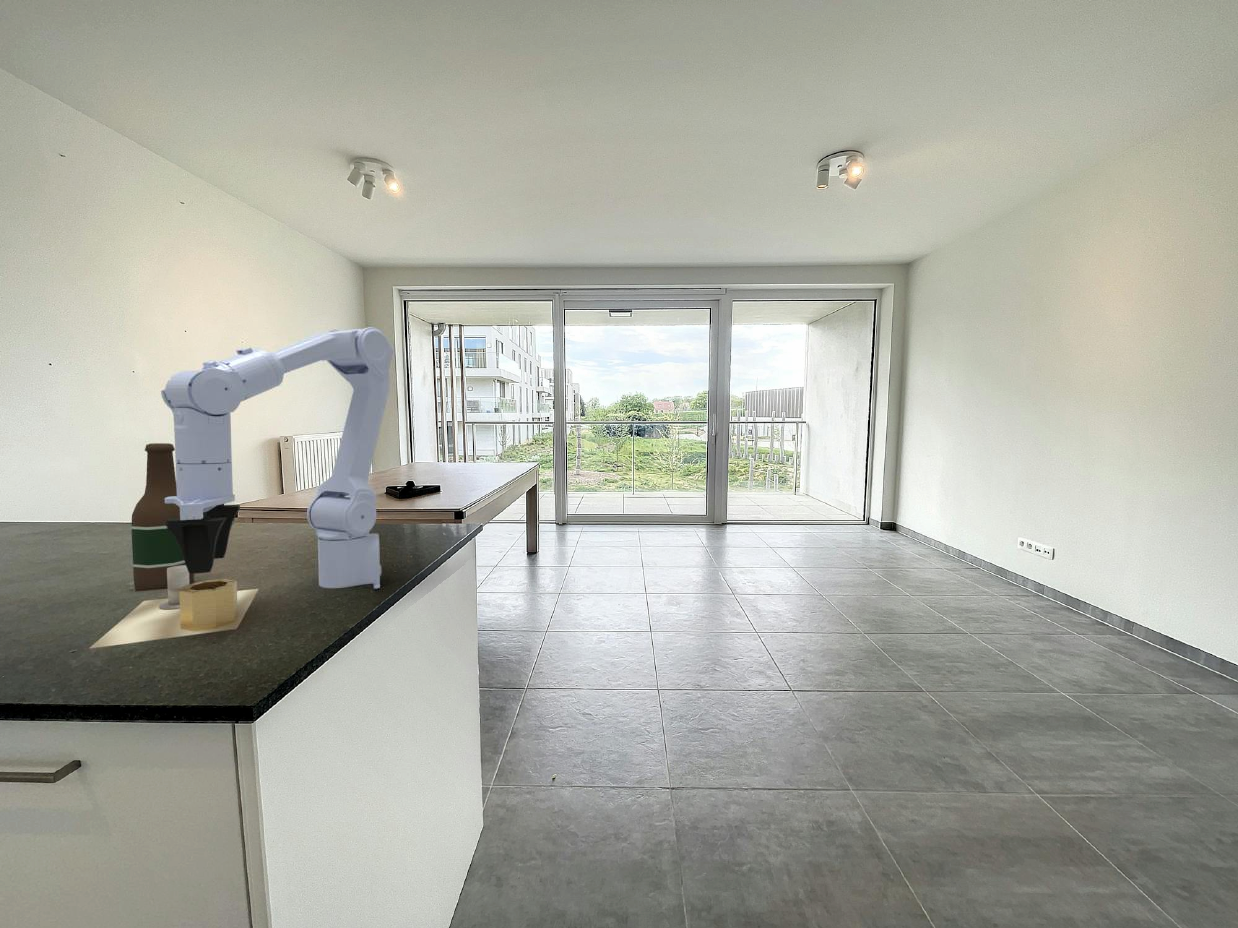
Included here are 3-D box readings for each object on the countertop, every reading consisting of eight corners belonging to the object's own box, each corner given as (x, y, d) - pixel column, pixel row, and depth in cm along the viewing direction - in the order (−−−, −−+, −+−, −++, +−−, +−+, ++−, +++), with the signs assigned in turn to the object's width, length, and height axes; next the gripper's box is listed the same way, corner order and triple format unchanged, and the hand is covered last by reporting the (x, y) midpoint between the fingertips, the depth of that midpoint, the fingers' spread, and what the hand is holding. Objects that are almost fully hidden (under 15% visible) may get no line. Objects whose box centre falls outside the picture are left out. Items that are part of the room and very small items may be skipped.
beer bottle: (143, 599, 79) (136, 444, 77) (126, 589, 83) (119, 443, 81) (204, 586, 85) (199, 444, 84) (185, 578, 89) (180, 442, 88)
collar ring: (240, 612, 72) (239, 577, 71) (231, 626, 67) (230, 588, 66) (189, 618, 69) (187, 582, 69) (176, 633, 64) (175, 594, 64)
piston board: (258, 594, 82) (257, 555, 81) (237, 635, 66) (235, 587, 65) (144, 607, 75) (142, 564, 75) (89, 656, 59) (86, 602, 59)
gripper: (181, 459, 71) (184, 555, 72) (144, 467, 58) (148, 583, 59) (243, 459, 74) (245, 550, 75) (221, 466, 61) (224, 576, 62)
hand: (207, 565), depth 67 cm, fingers open, 7 cm apart
